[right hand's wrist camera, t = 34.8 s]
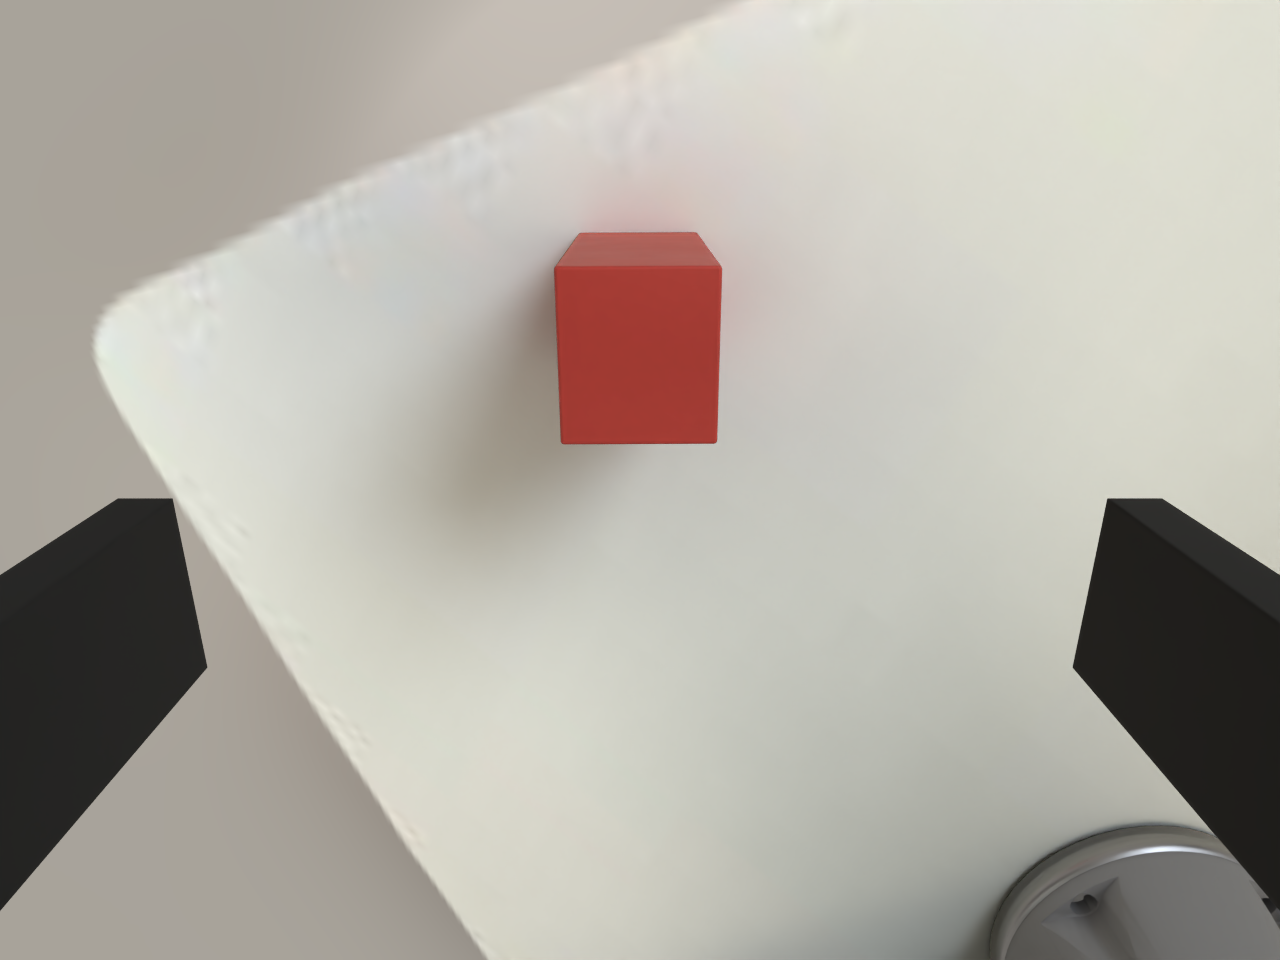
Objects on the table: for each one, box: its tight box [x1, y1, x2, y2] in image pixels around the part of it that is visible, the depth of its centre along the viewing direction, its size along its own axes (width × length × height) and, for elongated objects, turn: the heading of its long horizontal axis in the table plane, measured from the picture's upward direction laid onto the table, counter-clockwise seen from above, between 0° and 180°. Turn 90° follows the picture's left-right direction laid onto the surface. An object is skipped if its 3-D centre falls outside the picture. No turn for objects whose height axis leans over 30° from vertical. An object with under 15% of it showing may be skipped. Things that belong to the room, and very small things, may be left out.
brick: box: [554, 232, 722, 444], centre depth 31 cm, size 5×5×11 cm
